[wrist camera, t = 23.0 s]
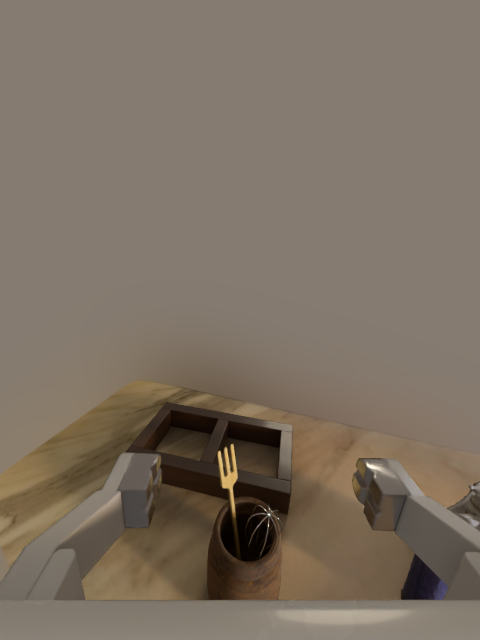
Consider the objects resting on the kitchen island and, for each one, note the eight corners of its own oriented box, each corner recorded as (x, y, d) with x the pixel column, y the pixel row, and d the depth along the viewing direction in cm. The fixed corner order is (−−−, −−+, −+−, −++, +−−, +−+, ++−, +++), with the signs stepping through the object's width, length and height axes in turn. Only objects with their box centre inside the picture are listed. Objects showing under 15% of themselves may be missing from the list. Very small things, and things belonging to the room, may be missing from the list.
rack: (287, 515, 27) (290, 494, 26) (125, 474, 30) (123, 454, 30) (290, 442, 37) (292, 425, 36) (167, 418, 40) (166, 402, 39)
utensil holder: (235, 666, 17) (245, 547, 13) (192, 572, 22) (191, 465, 18) (293, 597, 21) (313, 487, 17) (245, 528, 25) (253, 431, 22)
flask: (452, 543, 25) (490, 459, 22) (490, 578, 22) (539, 489, 19) (391, 594, 21) (426, 501, 18) (428, 643, 19) (477, 545, 15)
